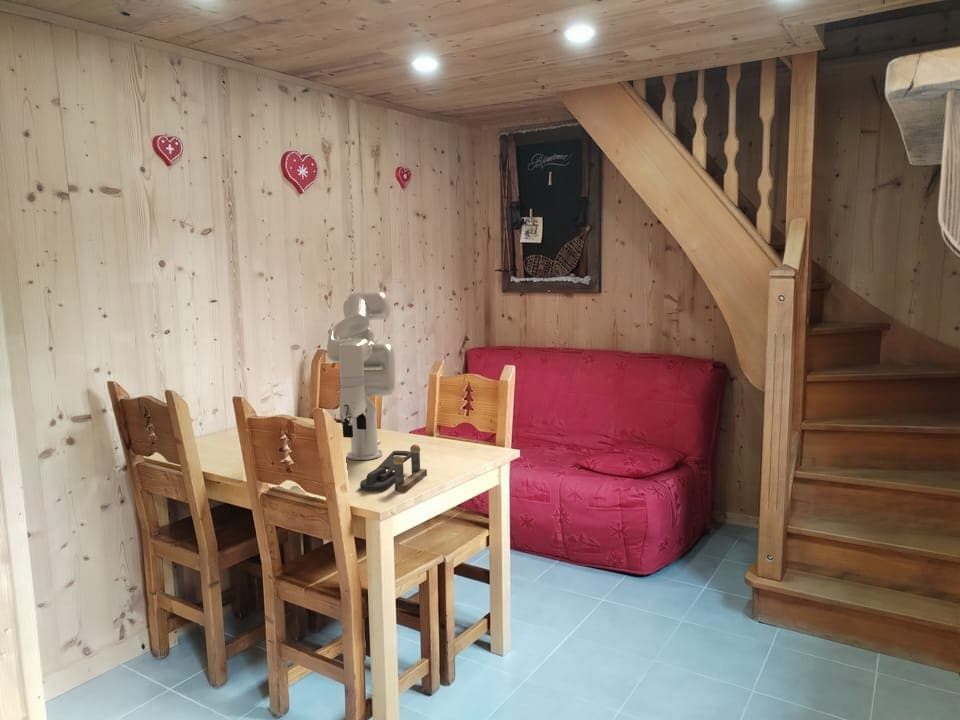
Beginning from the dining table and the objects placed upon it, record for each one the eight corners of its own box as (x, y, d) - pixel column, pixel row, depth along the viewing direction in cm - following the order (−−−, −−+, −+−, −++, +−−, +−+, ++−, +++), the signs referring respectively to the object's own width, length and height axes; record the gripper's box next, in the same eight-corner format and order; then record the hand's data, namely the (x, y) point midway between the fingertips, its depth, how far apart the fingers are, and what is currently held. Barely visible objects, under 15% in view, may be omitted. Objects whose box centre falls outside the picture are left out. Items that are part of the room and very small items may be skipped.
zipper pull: (416, 451, 224) (381, 472, 200) (417, 470, 225) (382, 493, 201) (392, 449, 227) (355, 469, 203) (393, 468, 228) (355, 491, 204)
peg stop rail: (413, 474, 220) (412, 442, 219) (426, 475, 219) (425, 443, 218) (392, 491, 203) (390, 457, 202) (406, 492, 202) (405, 457, 200)
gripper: (353, 375, 221) (356, 425, 224) (328, 386, 205) (331, 439, 208) (374, 376, 219) (377, 426, 222) (350, 386, 203) (353, 441, 206)
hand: (355, 433), depth 215 cm, fingers open, 9 cm apart
